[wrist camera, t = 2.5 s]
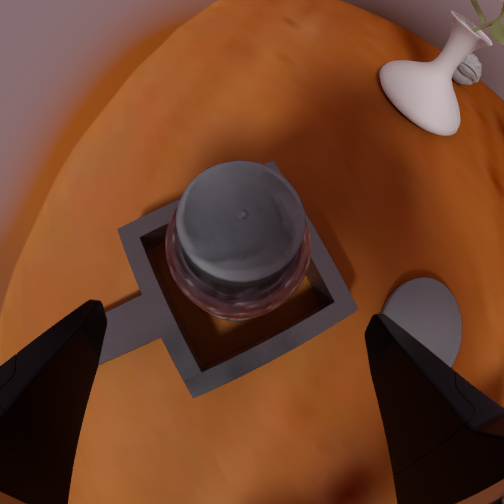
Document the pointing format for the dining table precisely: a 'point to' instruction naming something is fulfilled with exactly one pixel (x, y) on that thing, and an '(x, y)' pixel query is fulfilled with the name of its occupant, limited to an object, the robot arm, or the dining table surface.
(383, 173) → the dining table surface
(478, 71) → the lumpy white ball
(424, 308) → the coaster
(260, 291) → the supplement bottle
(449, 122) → the flower in vase
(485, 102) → the dining table surface
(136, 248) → the square pan with handle
